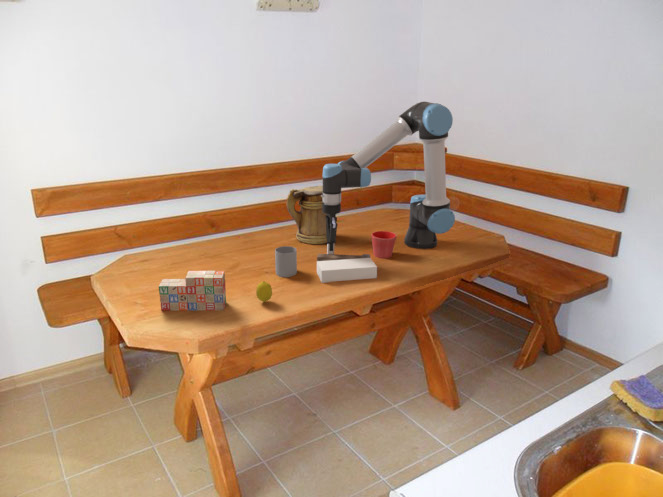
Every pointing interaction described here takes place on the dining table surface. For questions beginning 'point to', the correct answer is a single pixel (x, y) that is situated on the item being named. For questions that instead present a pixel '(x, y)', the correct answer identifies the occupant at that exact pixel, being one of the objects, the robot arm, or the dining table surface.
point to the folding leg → (339, 257)
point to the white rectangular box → (346, 269)
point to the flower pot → (383, 243)
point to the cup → (286, 261)
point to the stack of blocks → (194, 292)
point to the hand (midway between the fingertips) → (330, 257)
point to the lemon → (264, 291)
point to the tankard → (308, 214)
